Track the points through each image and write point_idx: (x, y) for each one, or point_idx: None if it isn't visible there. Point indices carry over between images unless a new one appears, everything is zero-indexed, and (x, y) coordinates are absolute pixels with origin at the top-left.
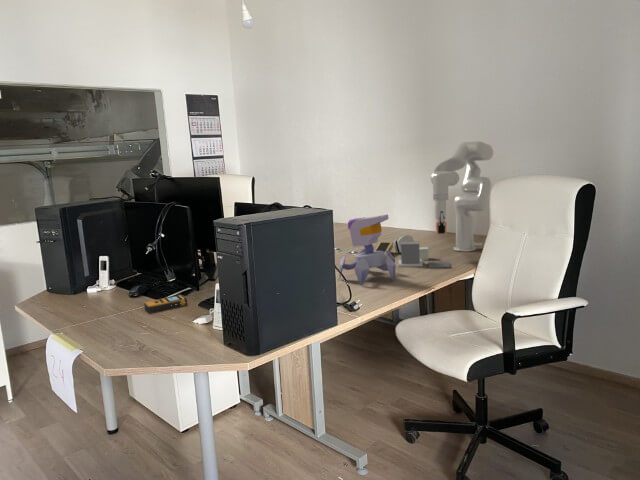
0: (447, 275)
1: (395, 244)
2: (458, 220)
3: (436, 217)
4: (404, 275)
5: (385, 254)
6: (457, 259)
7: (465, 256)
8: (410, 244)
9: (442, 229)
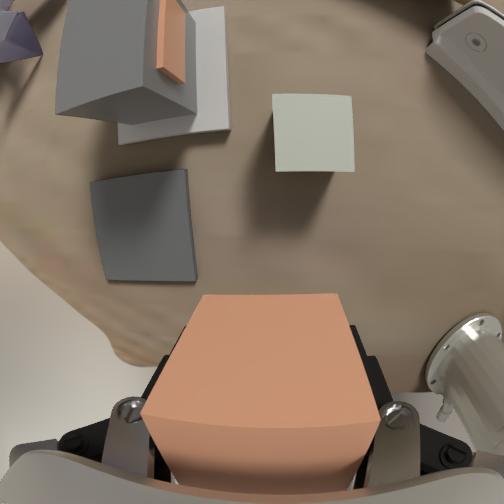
0: (28, 254)
1: (465, 5)
2: None
3: (7, 474)
4: (18, 103)
5: (2, 12)
6: None
7: None
8: (62, 51)
9: None
